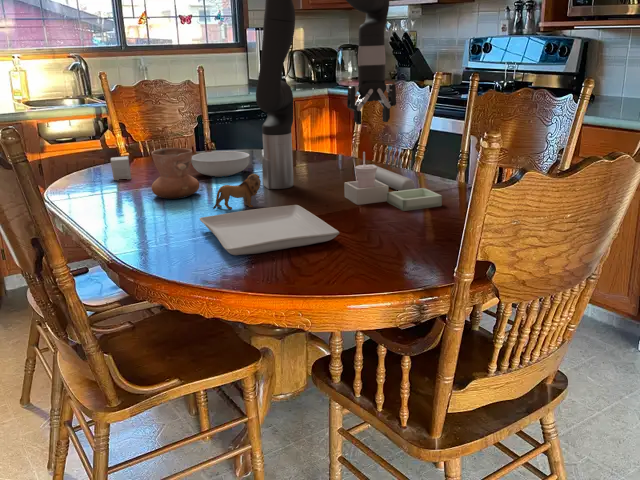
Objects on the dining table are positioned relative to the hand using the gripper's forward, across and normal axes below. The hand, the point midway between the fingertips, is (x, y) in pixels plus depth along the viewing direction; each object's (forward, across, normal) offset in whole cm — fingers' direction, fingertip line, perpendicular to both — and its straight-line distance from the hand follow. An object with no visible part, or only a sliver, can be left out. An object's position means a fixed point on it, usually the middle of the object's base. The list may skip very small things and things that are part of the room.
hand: (372, 123), depth 167 cm
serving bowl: (+22, +31, -57) cm, 69 cm away
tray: (+22, -8, +10) cm, 26 cm away
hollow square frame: (+22, +2, -1) cm, 22 cm away
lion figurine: (+22, +37, -12) cm, 45 cm away
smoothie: (+22, +2, -1) cm, 22 cm away
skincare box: (+21, +64, -68) cm, 96 cm away
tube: (+23, -13, -12) cm, 29 cm away
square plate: (+23, +39, +18) cm, 49 cm away
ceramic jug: (+22, +52, -34) cm, 65 cm away
